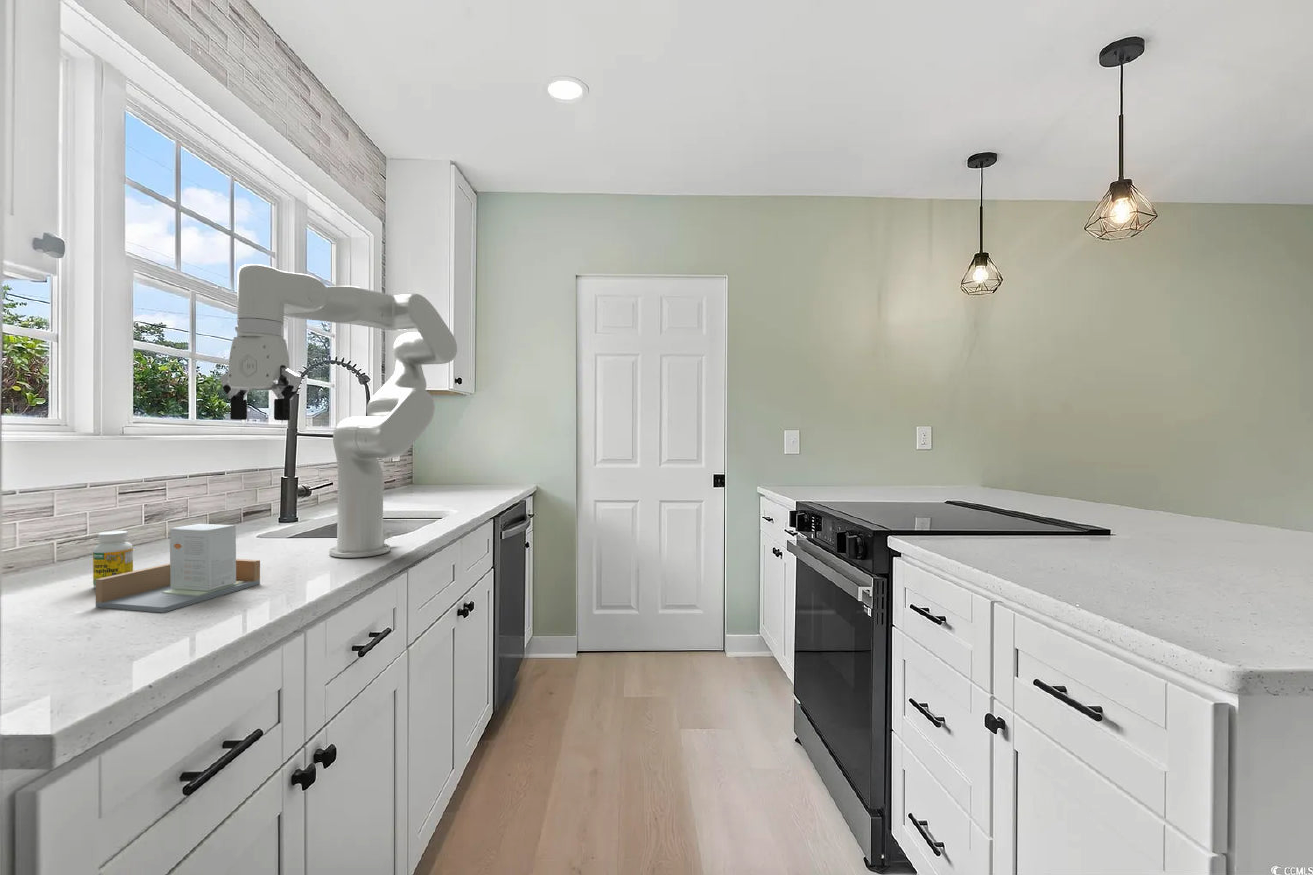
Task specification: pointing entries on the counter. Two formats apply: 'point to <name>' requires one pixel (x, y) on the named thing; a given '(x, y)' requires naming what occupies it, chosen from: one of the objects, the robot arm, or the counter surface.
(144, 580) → the arena
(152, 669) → the counter surface
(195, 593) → the pad
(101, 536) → the supplement bottle
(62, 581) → the counter surface
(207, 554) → the small box
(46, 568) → the counter surface
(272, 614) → the counter surface
